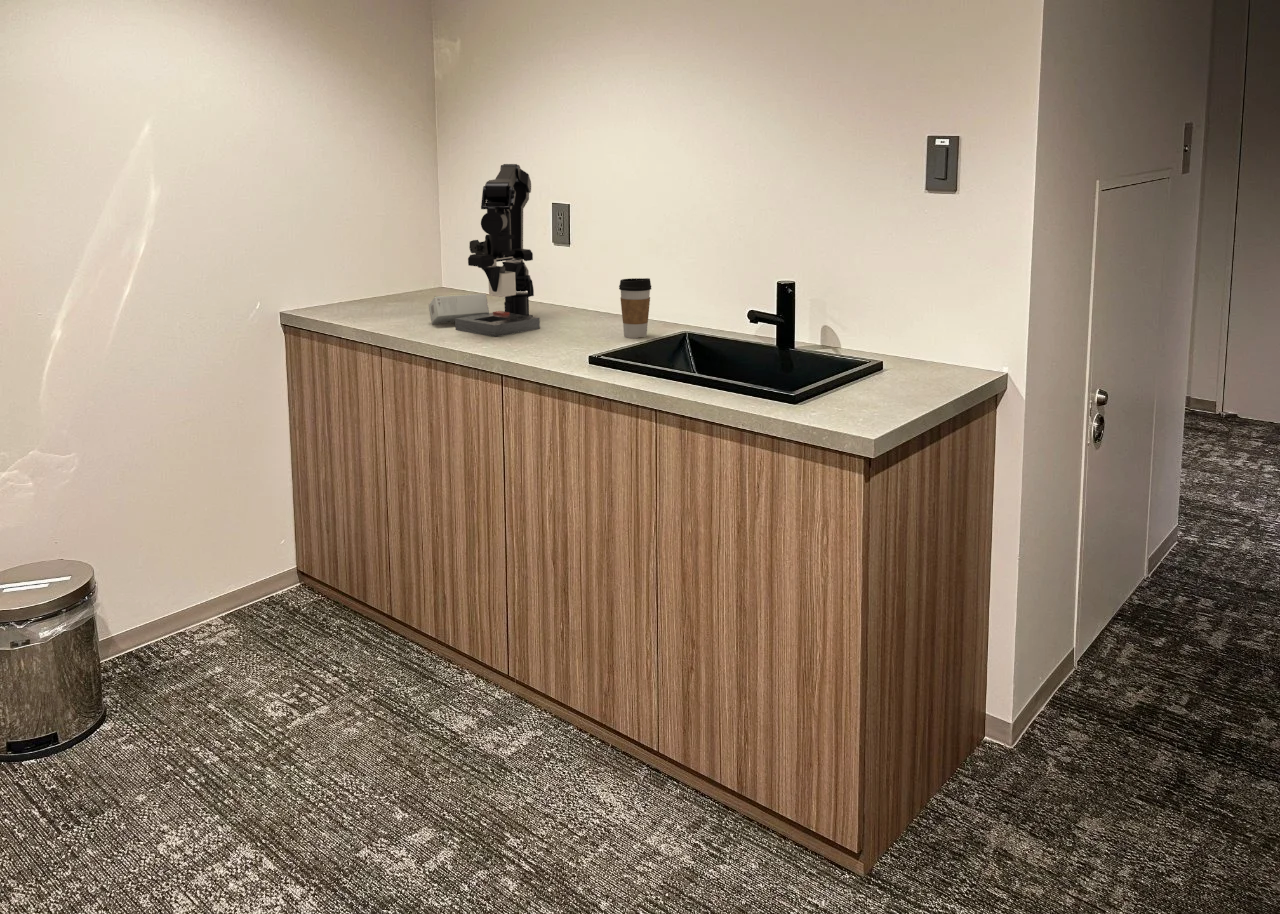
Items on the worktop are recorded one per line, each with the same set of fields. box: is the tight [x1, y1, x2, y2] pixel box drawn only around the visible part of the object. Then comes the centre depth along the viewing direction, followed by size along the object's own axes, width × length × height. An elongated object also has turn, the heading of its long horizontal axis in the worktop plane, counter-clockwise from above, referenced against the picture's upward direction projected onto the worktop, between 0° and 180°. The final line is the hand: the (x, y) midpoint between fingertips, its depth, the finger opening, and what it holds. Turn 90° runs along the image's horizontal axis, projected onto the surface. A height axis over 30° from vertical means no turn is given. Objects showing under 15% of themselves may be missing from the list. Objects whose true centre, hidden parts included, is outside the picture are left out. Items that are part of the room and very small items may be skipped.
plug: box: [488, 265, 516, 298], centre depth 307 cm, size 5×5×8 cm
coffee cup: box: [618, 277, 652, 339], centre depth 301 cm, size 8×8×15 cm
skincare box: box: [428, 293, 490, 325], centre depth 321 cm, size 8×6×15 cm
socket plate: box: [454, 310, 541, 338], centre depth 313 cm, size 16×16×4 cm
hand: (502, 290), depth 308 cm, fingers closed on plug, 5 cm apart
